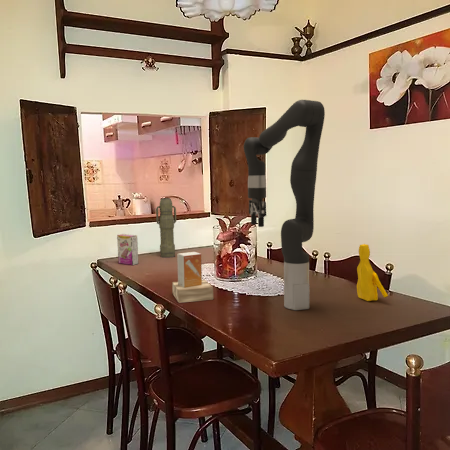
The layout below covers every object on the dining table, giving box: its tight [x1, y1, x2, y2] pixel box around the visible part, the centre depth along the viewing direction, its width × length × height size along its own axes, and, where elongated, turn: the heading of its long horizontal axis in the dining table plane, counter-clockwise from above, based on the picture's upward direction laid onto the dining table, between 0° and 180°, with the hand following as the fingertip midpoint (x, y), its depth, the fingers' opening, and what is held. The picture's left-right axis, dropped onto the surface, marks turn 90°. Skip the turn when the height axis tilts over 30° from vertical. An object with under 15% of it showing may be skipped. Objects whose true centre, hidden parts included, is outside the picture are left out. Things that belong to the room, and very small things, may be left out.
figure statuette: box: [356, 243, 389, 302], centre depth 179 cm, size 18×8×22 cm, turn 23°
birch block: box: [171, 278, 214, 304], centre depth 189 cm, size 14×14×5 cm
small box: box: [176, 251, 203, 287], centre depth 188 cm, size 8×6×13 cm
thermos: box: [155, 197, 177, 259], centre depth 275 cm, size 9×12×35 cm
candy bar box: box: [116, 233, 139, 266], centre depth 256 cm, size 11×5×16 cm, turn 58°
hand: (257, 225), depth 192 cm, fingers open, 8 cm apart
